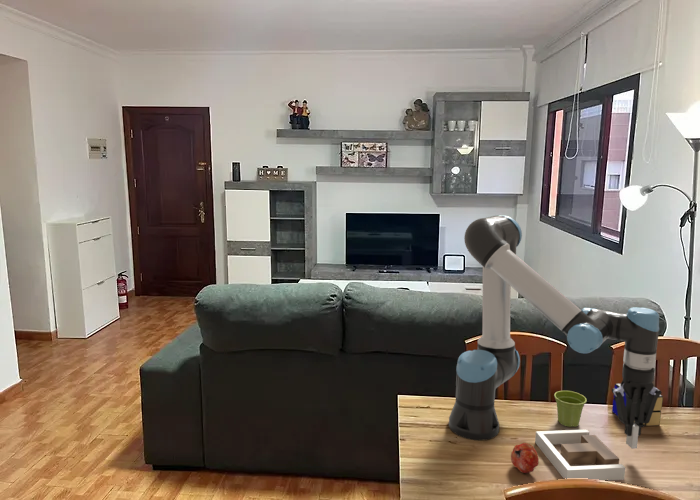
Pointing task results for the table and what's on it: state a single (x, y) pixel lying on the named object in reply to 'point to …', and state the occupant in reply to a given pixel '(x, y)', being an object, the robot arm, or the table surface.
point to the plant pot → (569, 407)
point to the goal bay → (591, 472)
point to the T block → (588, 452)
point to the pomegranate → (524, 457)
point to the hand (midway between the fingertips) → (631, 445)
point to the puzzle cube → (655, 415)
